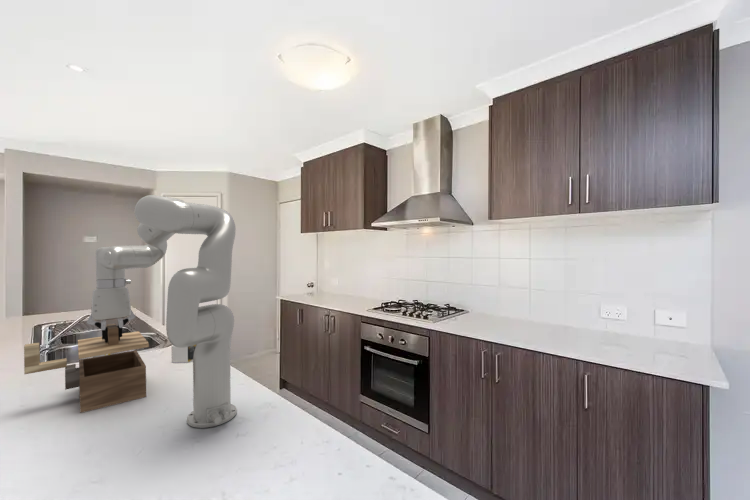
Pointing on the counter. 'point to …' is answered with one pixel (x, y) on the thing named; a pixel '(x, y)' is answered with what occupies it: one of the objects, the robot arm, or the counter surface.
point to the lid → (111, 343)
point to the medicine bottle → (182, 354)
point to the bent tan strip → (33, 360)
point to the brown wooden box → (107, 379)
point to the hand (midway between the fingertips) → (112, 340)
